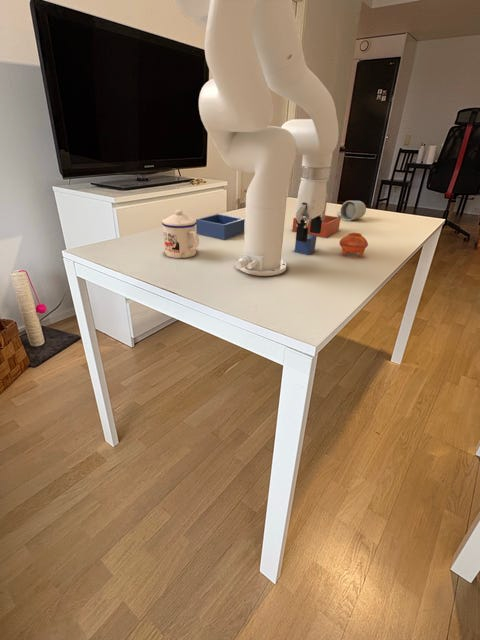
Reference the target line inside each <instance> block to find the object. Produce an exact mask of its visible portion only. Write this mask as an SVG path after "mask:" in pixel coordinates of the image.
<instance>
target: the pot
mask: <svg viewBox="0 0 480 640" xmlns="http://www.w3.org/2000/svg"><path fill="white" fill-rule="evenodd" d="M339 246H340V247H341V253H342V256H345V255H346V254H347V253H350V254H357V253H359V256H360V258H361V257H363V256H364V254H365V251H366V248H367V247H368V246H369V243H368V240H367V239H366V238H365V237H364V235H362V233H359V232H349V233H347V235H344V236H343V237H342V238H341V239H339Z"/></svg>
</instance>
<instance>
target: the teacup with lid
mask: <svg viewBox="0 0 480 640" xmlns="http://www.w3.org/2000/svg"><path fill="white" fill-rule="evenodd" d="M161 225H162V231H163V243H164V244H163V245H164V246H163V247H164V254H165V255H166V256H167V257H169V258H173V259H186V258H191V257H194V256H195V255H196V254H197V248H198V247H199V245H200V238H199V234H197V233H196V219H194V218H193V217H190V216H188V215H187V214H184V212H183V210H181V209H175V210H174V213H173V214H171V215H170V216H168V217H165V218H163V219H162V221H161Z"/></svg>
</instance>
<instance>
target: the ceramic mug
mask: <svg viewBox="0 0 480 640" xmlns="http://www.w3.org/2000/svg"><path fill="white" fill-rule="evenodd" d="M366 213H367V206H366V204H365V202H363V201H361V200H346V201H345V202H343V203H342V205H341V207H340V211H338V212H337V217H340V218H342V219H343V220H344V221H348V222H350V221H354V220H359V219H361V218H363V217H364V216H365V214H366Z"/></svg>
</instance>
